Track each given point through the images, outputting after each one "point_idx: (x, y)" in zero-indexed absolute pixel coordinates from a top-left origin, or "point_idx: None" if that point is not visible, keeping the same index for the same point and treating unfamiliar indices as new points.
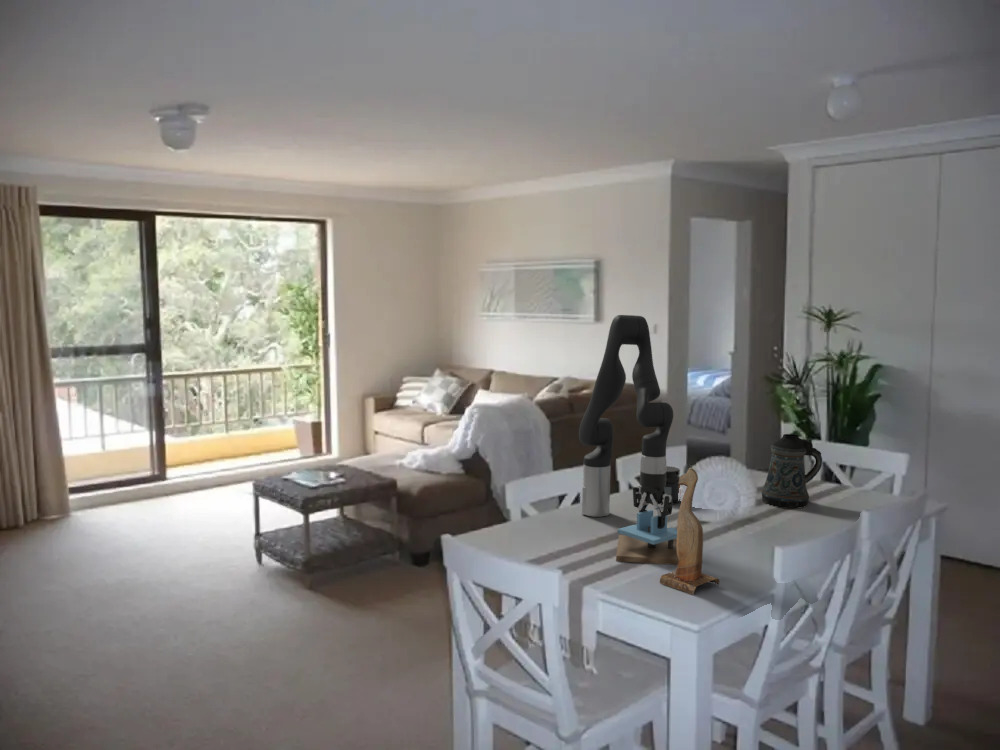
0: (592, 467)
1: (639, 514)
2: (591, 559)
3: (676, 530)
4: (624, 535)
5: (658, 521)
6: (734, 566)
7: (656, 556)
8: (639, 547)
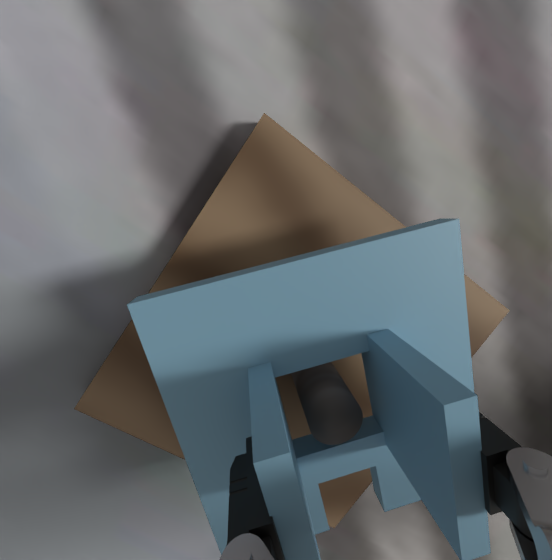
0: None
1: (441, 400)
2: (333, 9)
3: None
4: (491, 329)
5: (256, 479)
6: (19, 550)
7: None
8: None
